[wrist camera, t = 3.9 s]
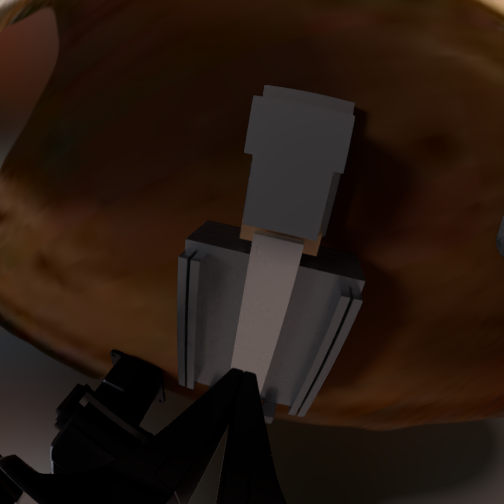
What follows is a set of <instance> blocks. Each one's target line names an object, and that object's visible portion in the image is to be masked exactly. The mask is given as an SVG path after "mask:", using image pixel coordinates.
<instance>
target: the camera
mask: <svg viewBox="0 0 504 504" xmlns="http://www.w3.org/2000/svg"><path fill="white" fill-rule="evenodd" d="M496 243H497V249H498V251H499V252H500V254H501V255H502V256H503V257H504V216H503V219H502V222H501V225H500V228H499V231H498V234H497V239H496Z"/></svg>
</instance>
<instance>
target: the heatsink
mask: <svg viewBox="0 0 504 504" xmlns="http://www.w3.org/2000/svg"><path fill="white" fill-rule="evenodd" d="M243 218H244V216H243ZM256 229H257V230H262V231H266V232H270V233H275V234H279V235H284V236H288V237H292V238H296V239H301V240H305V241H304V248H303V251H302V255H301V259H300V263H299V267H298V270H297V274H296V278H295V282H294V285H293V289H292V292H291V296H290V299H289V303H288V307H287V310H286V313H285V317H284V320H283V324H282V327H281V330H280V334H279V337H278V340H277V344H276V347H275V350H274V353H273V356H272V360H271V363H270V366H269V369H268V372H267V375H266V378H265V381H264V384H263V387H262V390H261V393H260V397H261V400H263V404H262V408H263V413H264V418H265V423H269V424H271V422H272V420H273V418H274V414H275V409H276V403H279V404H284V405H289V412H288V414H290V415H295V414H296V412H297V410H298V413H297V416H301V417H304V415H305V414H306V412H307V410H308V409H309V407H310V405H311V404H312V402H313V400H314V399H315V397H316V395H317V393H318V392H319V390H320V388H321V386H322V384H323V383H324V381H325V379H326V377H327V375H328V373H329V371H330V370H331V368H332V366H333V364H334V362H335V360H336V358H337V356H338V354H339V352H340V350H341V348H342V346H343V344H344V342H345V340H346V338H347V336H348V333H349V331H350V329H351V327H352V325H353V323H354V320H355V318H356V316H357V314H358V311H359V309H360V307H361V304H362V302H363V299H362V295H361V292H362V289H363V287H364V284H365V282H366V281H365V278H364V275H363V272H362V269H361V266H360V263H359V260H358V257H357V255H355V254H351V253H347V252H343V251H338V250H334V249H330V248H326V247H322V246H319V245H320V241H321V237H322V226H320V229H319V233H318V237H317V241H314V240H310V239H306V238H301V237H297V236H293V235H289V234H284V233H280V232H276V231H271V230H267V229H262V228H258V227H253V226H249V225H244V224H243V220H242V226H241V228H240V227H235V226H231V225H226V224H221V223H217V222H212V221H208V220H207V221H206V222H205V223H204V224H203V225H202V226H200V227H199V228H198V229H197V230H196V231H195V232H193V233H192V234H191V235H190V236H189V237H188V238H186V243H185V251H184V252H183V253H182V254H181V255H180V256H179V258H178V290H177V346H178V377H179V385H182V386H185V385H186V383H187V387H188V388H191V389H193V390H194V387H195V385H196V383H197V382H200V383H203V384H206V385H209V386H210V387H209V389H210V388H211V387H212V386H213V385H214V384H215V383H216V382H217V381H218V380H219V379H221V378H222V377H223V376H224V375H225V374H226V373H227V372H228V371H229V370H230V369H231V363H232V357H233V351H234V345H235V339H236V334H237V328H238V322H239V316H240V310H241V304H242V298H243V293H244V287H245V281H246V275H247V269H248V263H249V258H250V252H251V246H252V240H253V234H254V232H255V230H256ZM209 389H208V390H209Z"/></svg>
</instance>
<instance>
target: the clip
mask: <svg viewBox="0 0 504 504" xmlns="http://www.w3.org/2000/svg"><path fill="white" fill-rule="evenodd" d="M354 120H355V116H354V115H350V114H346V113H343V112H339V111H335V110H330V109H326V108H322V107H317V106H313V105H308V104H303V103H298V102H292V101H287V100H281V99H274V98H268V97H261V96H253V102H252V108H251V114H250V119H249V125H248V131H247V138H246V144H245V150H244V153H249V154H254V156H253V162H252V168H251V174H250V180H249V186H248V193H247V199H246V205H245V211H244V218H243V224H244V225H249V226H253V227H258V228H262V229H267V230H271V231H276V232H280V233H284V234H289V235H293V236H297V237H301V238H306V239H310V240H314V241H317V237H318V233H319V229H320V226H321V222H322V218H323V214H324V210H325V206H326V202H327V197H328V193H329V189H330V185H331V180H332V176H333V171H334V172H338V173H342V174H343V173H344V168H345V164H346V159H347V155H348V150H349V145H350V140H351V135H352V130H353V125H354Z"/></svg>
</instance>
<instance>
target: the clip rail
mask: <svg viewBox="0 0 504 504" xmlns="http://www.w3.org/2000/svg"><path fill="white" fill-rule="evenodd" d="M263 97H268V98H274V99H281V100H287V101H292V102H298V103H303V104H308V105H313V106H317V107H322V108H326V109H330V110H335V111H339V112H343V113H346V114H350V115H353V111H354V105H355V103H352V102H349V101H345V100H341V99H337V98H333V97H329V96H324V95H320V94H315V93H310V92H305V91H300V90H294V89H289V88H283V87H276V86H269V85H265V87H264V92H263ZM253 156H254V154H253ZM252 162H253V157H252ZM251 168H252V163H251ZM250 174H251V169H250ZM340 175H341V173H338V172H334V171H333V176H332V180H331V185H330V189H329V193H328V197H327V202H326V206H325V210H324V214H323V218H322V222H321V226H322V237H325V235H326V231H327V227H328V223H329V220H330V216H331V212H332V208H333V204H334V200H335V196H336V192H337V188H338V183H339V179H340ZM249 180H250V175H249ZM248 186H249V181H248ZM247 193H248V187H247ZM246 199H247V194H246ZM245 205H246V200H245ZM244 211H245V206H244ZM243 216H244V212H243Z"/></svg>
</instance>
